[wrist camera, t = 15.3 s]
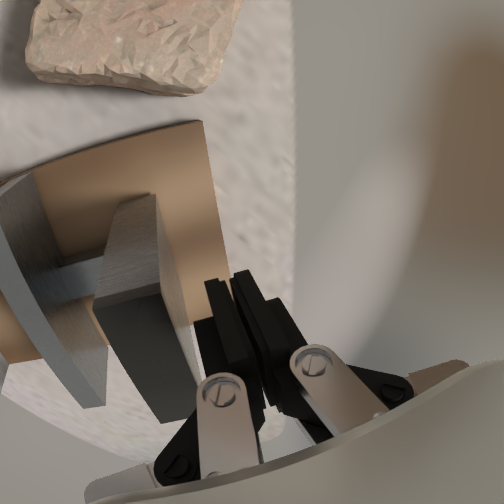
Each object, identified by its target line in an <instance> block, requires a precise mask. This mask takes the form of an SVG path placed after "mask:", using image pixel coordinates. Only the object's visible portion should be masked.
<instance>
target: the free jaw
mask: <svg viewBox="0 0 504 504" xmlns="http://www.w3.org/2000/svg"><path fill="white" fill-rule="evenodd" d="M0 289H1V291H2V293H3V295H4V297H5V298H6V300H7V302H8V304H9V305H10V307H11V309H12V311H13V312H14V314H15V316H16V317H17V319H18V321H19V322H20V324H21V325H22V327H23V329H24V330H25V332H26V333H27V335H28V336H29V338H30V339H31V341H32V342H33V344H34V345H35V347H36V348H37V350H38V351H39V353H40V354H41V356H42V357H43V358H44V360H45V361H46V362H47V364H48V365H49V367H50V368H51V369H52V371H53V372H54V373H55V375H56V376H57V377H58V378H59V380H60V381H61V382H62V384H63V385H64V386H65V387H66V389H67V390H68V391H69V392H70V394H71V395H72V396H73V397H74V398H75V400H76V401H77V402H78V403H79V404H80V405H81V407H82V408H83V409H85V408H92V407H99V406H105V405H106V379H107V360H108V347H107V345H106V343H105V341H104V340H103V338H102V336H101V334H100V332H99V331H98V329H97V327H96V325H95V323H94V321H93V319H92V318H91V316H90V314H89V312H88V310H87V308H86V306H85V304H84V302H83V300H82V298H81V297H84V296H88V295H92V294H95V296H94V301H93V306H92V311H93V313H94V315H95V317H96V319H97V321H98V323H99V325H100V327H101V328H102V330H103V332H104V334H105V336H106V338H107V339H108V341H109V343H110V345H111V347H112V348H113V350H114V352H115V354H116V355H117V357H118V359H119V360H120V362H121V364H122V365H123V367H124V369H125V370H126V372H127V374H128V375H129V377H130V378H131V380H132V382H133V383H134V385H135V386H136V388H137V389H138V391H139V392H140V394H141V396H142V397H143V399H144V400H145V402H146V403H147V404H148V406H149V407H150V409H151V410H152V412H153V413H154V415H155V416H156V417H157V419H158V420H159V422H160V423H161V424H163V423H168V422H173V421H177V420H182V419H187V418H189V416H190V415H191V414H192V413H193V411H194V410H195V409H196V407H197V397H196V395H197V389H198V387H199V385H200V383H201V382H202V380H201V375H200V371H199V367H198V362H197V358H196V354H195V349H194V344H193V340H192V335H191V330H190V326H189V321H188V316H187V311H186V306H185V301H184V295H183V290H182V287H181V284H180V280H179V277H178V274H177V270H176V267H175V263H174V260H173V256H172V253H171V249H170V246H169V242H168V238H167V235H166V231H165V227H164V224H163V220H162V216H161V212H160V208H159V204H158V200H157V196H156V193H155V194H152V195H148V196H144V197H140V198H137V199H133V200H129V201H126V202H122V203H119V204H118V205H117V209H116V212H115V215H114V219H113V222H112V226H111V229H110V233H109V237H108V241H107V244H106V245H104V246H100V247H97V248H93V249H90V250H86V251H83V252H80V253H76V254H73V255H69V256H66V257H63V256H62V254H61V251H60V249H59V247H58V244H57V242H56V239H55V237H54V234H53V231H52V229H51V226H50V223H49V221H48V218H47V215H46V212H45V210H44V207H43V204H42V201H41V198H40V195H39V192H38V189H37V186H36V182H35V179H34V176H33V172H29V173H27V174H24V175H22V176H19V177H17V178H15V179H12V180H10V181H8V182H7V183H6V184H4V185H3V186H2V187H0Z"/></svg>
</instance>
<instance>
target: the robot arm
mask: <svg viewBox="0 0 504 504" xmlns="http://www.w3.org/2000/svg"><path fill="white" fill-rule="evenodd" d="M229 282H230V286H231V291H232V296H233V299H232V296H231V294H230V291H229V289H228V286H227V284H226V281H225V280H222V281H219V279H218V278H214V279H211V280H207V281H204V285H205V289H206V292H207V296H208V300H209V303H210V307H211V311H212V314H213V316H212V317H208V318H204V319H201V320H197V321H193V324H194V328H195V333H196V337H197V342H198V346H199V350H200V354H201V358H202V362H203V366H204V370H205V374H206V379H205V380H203V381H202V382H201V383H200V385H199V387H198V389H197V395H196V397H197V407H196V409H195V410H194V411H193V413H192V414H191V415H190V416H189V418H188V419H187V420H186V422H185V423H184V424H183V425H182V427H181V428H180V429H179V431H178V432H177V433H176V434H175V436H174V437H173V438H172V439H171V441H170V442H169V443H168V444H167V446H166V447H165V448H164V449H163V451H162V452H161V453H160V454H159V456H158V457H157V459H156V461H155V462H153V463H150V464H148V465H146V464H145V463H143V464H140V465H137V466H135V467H132V468H129V469H126V470H124V471H121V472H118V473H115V474H112V475H109V476H106V477H103V478H100V479H97V480H95V481H93V482H91V483H90V484H89V485H88V486H87V487H86V490H85V493H84V497H85V503H86V504H504V360H491V361H485V362H481V363H478V364H475V365H472V366H469V365H468V363H466V362H464V361H461V360H450V361H448V362H445V363H441V364H438V365H435V366H432V367H429V368H426V369H423V370H419V371H415V372H412V373H409V374H408V376H407V377H404V378H403V377H400V376H397V375H393V374H388V373H383V372H378V371H373V370H369V369H364V368H360V367H356V366H351V365H347V364H345V363H344V362H343V361H342V360H341V359H340V358H339V357H338V356H337V355H336V354H335V352H334V351H332V350H331V349H330V348H328V347H326V346H323V345H317V344H312V345H308V344H307V342H306V340H305V339H304V337H303V336H302V334H301V332H300V331H299V329H298V327H297V326H296V324H295V323H294V321H293V319H292V317H291V316H290V314H289V313H288V311H287V309H286V308H285V306H284V304H283V303H282V301H281V300H280V298H278V297H277V298H274V299H271V300H267V301H265V299H264V297H263V295H262V293H261V292H260V290H259V288H258V286H257V284H256V282H255V280H254V279H253V277H252V275H251V273H250V271H249V270H248V269H247V270H244V271H240V272H237V273H234V277H233V278H230V279H229ZM262 388H263V390H262ZM263 391H264V393H265V395H266V398H267V400H268V402H269V405H270V406H271V407H272V406H275V405H276V407H277V409H278V411H279V413H280V412H283V414H284V415H287V416H291V417H293V418H294V420H295V422H296V424H297V425H298V426H299V428H300V429H301V431H302V432H303V434H304V435H305V436H306V438H307V439H308V441H309V442H310V443H311V445H312V447H309V448H307V449H304V450H301V451H298V452H295V453H293V454H290V455H287V456H284V457H281V458H278V459H275V460H272V461H269V462H266V463H264V460H263V454H262V449H261V444H260V438H259V434H258V432H259V430H260V428H261V427H262V425H263V423H264V422H265V416H264V412H263V409H265V408H266V405H265V400H264V395H263Z"/></svg>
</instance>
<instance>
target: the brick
mask: <svg viewBox="0 0 504 504" xmlns="http://www.w3.org/2000/svg"><path fill="white" fill-rule="evenodd" d="M242 1H243V0H39V3H38V5H37V6H36V8H35V9H34V12H33V15H32V19H31V23H30V35H29V39H28V42H27V44H26V47H25V59H26V60H25V65H26V66H27V67H28V68H29V69H30V70H31V71H32V72H33V73H34V75H35V76H36V77H37V79H39V80H40V81H42V82H46V83H61V84H73V85H81V86H85V85H92V86H96V85H106V86H114V87H124V88H130V89H135V90H141V91H144V92H147V93H150V94H154V95H170V96H178V97H187V96H192V95H194V94H198V93H203V91H204V90H205V88H206V87H208V86H209V85H210V84H211V83H212V82H214V81H215V80H216V79H217V77H218V75H219V72H220V69H221V66H222V63H223V59H224V52H225V50H226V48H227V45H228V43H229V40H230V38H231V36H232V30H233V27H234V24H235V22H236V19H237V16H238V14H239V11H240V8H241V5H242Z"/></svg>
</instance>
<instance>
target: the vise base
mask: <svg viewBox="0 0 504 504" xmlns="http://www.w3.org/2000/svg"><path fill="white" fill-rule="evenodd" d="M29 172H33V176H34V179H35V182H36V186H37V189H38V192H39V195H40V198H41V201H42V204H43V207H44V210H45V212H46V215H47V218H48V221H49V223H50V226H51V229H52V231H53V234H54V237H55V239H56V242H57V244H58V247H59V249H60V251H61V254H62V256H63V257H66V256H69V255H73V254H76V253H80V252H83V251H86V250H90V249H93V248H97V247H100V246H104V245H106V244H107V241H108V237H109V233H110V229H111V226H112V222H113V219H114V215H115V212H116V209H117V205H118V204H119V203H122V202H126V201H129V200H133V199H137V198H140V197H144V196H148V195H152V194H155V193H156V196H157V200H158V204H159V208H160V212H161V216H162V220H163V224H164V227H165V231H166V235H167V238H168V242H169V246H170V249H171V253H172V256H173V260H174V263H175V267H176V270H177V274H178V277H179V280H180V284H181V287H182V290H183V295H184V301H185V306H186V311H187V316H188V321H189V325H193V321H197V320H201V319H204V318H208V317H212V316H213V314H212V311H211V307H210V303H209V300H208V296H207V292H206V289H205V285H204V281H207V280H211V279H214V278H218V279H219V281H222V280H225V281H226V284H227V286H228V289H229V291H230V294H231V296H232V291H231V286H230V282H229V279H230V278H231V277H230V272H229V267H228V262H227V256H226V251H225V246H224V241H223V235H222V230H221V225H220V219H219V214H218V208H217V203H216V197H215V191H214V186H213V180H212V175H211V169H210V163H209V157H208V151H207V145H206V139H205V133H204V127H203V121H201V120H196V121H191V122H186V123H182V124H177V125H172V126H168V127H164V128H160V129H155V130H151V131H147V132H143V133H140V134H136V135H132V136H128V137H125V138H121V139H118V140H114V141H111V142H107V143H104V144H101V145H98V146H94V147H91V148H88V149H85V150H82V151H79V152H76V153H73V154H70V155H67V156H65V157H62V158H59V159H56V160H53V161H51V162H48V163H45V164H43V165H40V166H38V167H35V168H33V169H30V170H28V171H25V172H23V173H20V174H18V175H16V176H13V177H11V178H9V179H6V180H4V181H2V182H0V187H2V186H3V185H4V184H6V183H7V182H8V181H10V180H12V179H15V178H17V177H19V176H22V175H24V174H27V173H29ZM94 296H95V294H92V295H88V296H84V297H81V298H82V300H83V302H84V304H85V306H86V308H87V310H88V312H89V314H90V316H91V318H92V319H93V321H94V323H95V325H96V327H97V329H98V331H99V332H100V334H101V336H102V338H103V340H104V341H105V343H106V345H110V343H109V341H108V339H107V338H106V336H105V334H104V332H103V330H102V328H101V327H100V325H99V323H98V321H97V319H96V317H95V315H94V313H93V311H92V306H93V301H94ZM232 299H233V296H232ZM41 358H43V357H42V356H41V354H40V353H39V351H38V350H37V348H36V347H35V345H34V344H33V342H32V341H31V339H30V338H29V336H28V335H27V333H26V332H25V330H24V329H23V327H22V325H21V324H20V322H19V321H18V319H17V317H16V316H15V314H14V312H13V311H12V309H11V307H10V305H9V304H8V302H7V300H6V298H5V297H4V295H3V293H2V291H1V289H0V394H1V390H2V386H3V383H4V379H5V376H6V373H7V369H8V366H9V364H13V363H19V362H25V361H30V360H36V359H41Z"/></svg>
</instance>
